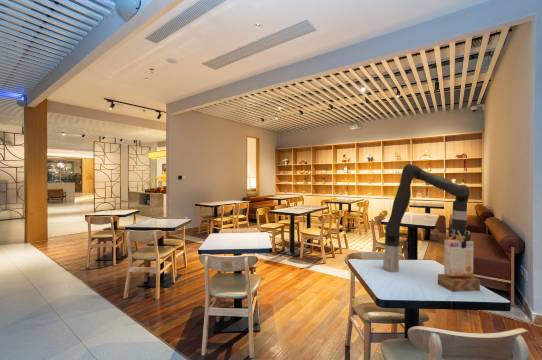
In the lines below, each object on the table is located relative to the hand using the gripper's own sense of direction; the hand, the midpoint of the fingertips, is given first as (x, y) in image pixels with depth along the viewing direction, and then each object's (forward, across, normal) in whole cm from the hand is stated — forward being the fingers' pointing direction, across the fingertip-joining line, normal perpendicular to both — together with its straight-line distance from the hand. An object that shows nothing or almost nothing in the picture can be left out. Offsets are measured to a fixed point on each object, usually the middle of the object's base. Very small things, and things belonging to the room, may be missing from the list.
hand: (458, 246), depth 162 cm
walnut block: (+24, 0, 0) cm, 24 cm away
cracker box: (+17, 0, 0) cm, 17 cm away
